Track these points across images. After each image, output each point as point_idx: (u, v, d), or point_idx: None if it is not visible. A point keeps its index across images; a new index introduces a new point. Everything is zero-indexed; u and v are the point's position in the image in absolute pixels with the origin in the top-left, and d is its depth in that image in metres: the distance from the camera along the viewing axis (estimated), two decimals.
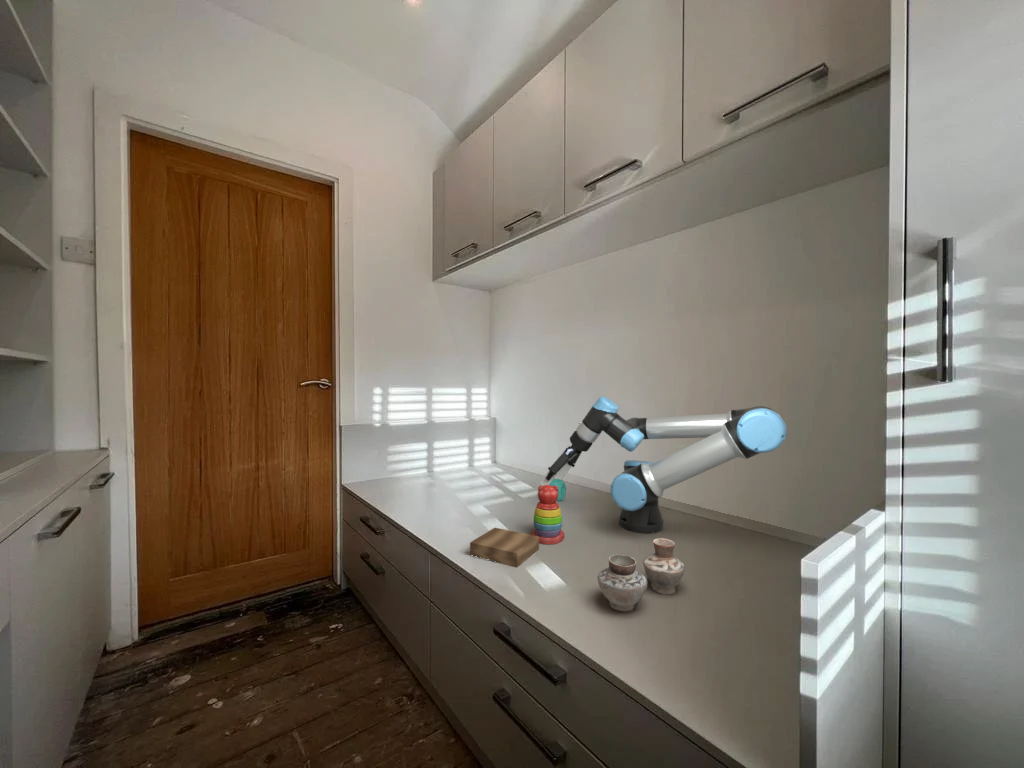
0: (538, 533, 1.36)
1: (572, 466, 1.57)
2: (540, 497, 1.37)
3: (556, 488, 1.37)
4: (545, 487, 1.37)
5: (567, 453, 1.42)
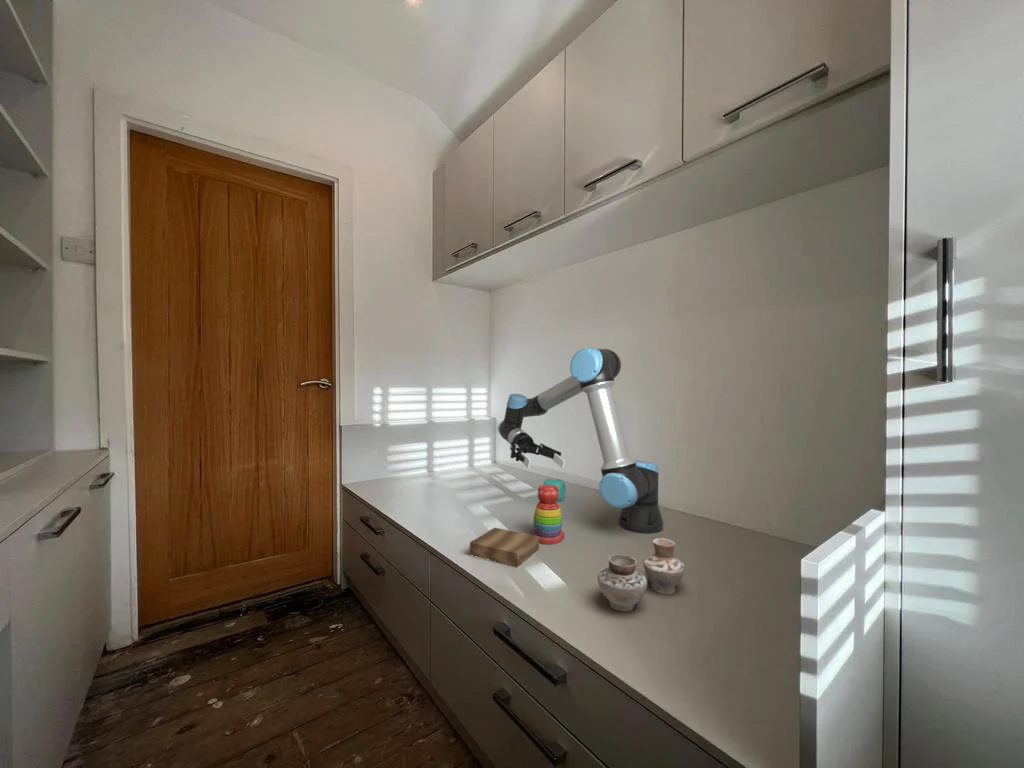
0: (538, 533, 1.36)
1: (556, 452, 1.54)
2: (540, 497, 1.37)
3: (556, 488, 1.37)
4: (545, 487, 1.37)
5: (511, 446, 1.55)
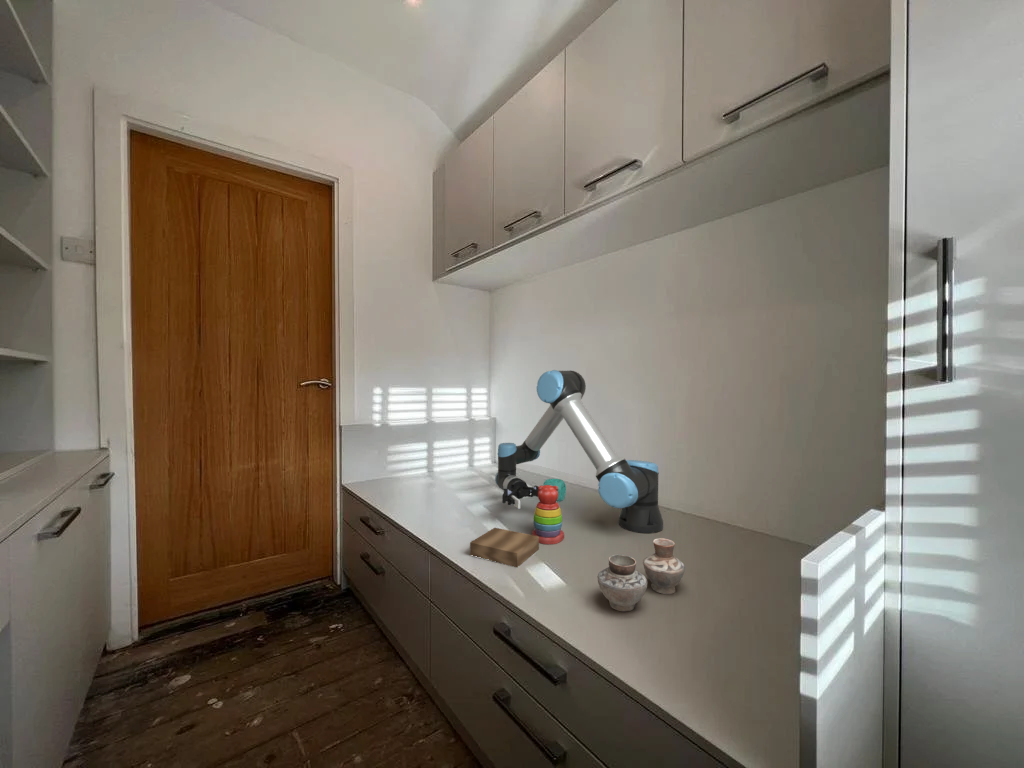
0: (538, 533, 1.36)
1: None
2: (540, 497, 1.37)
3: (556, 488, 1.38)
4: (545, 487, 1.37)
5: None
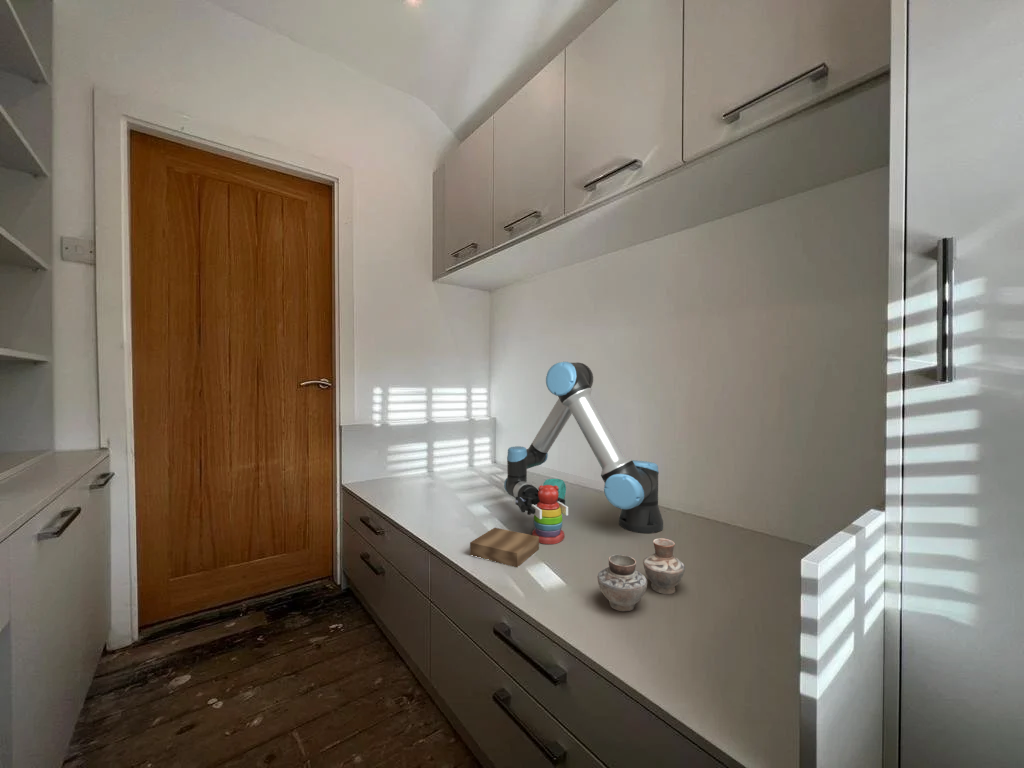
0: (538, 533, 1.36)
1: (558, 500, 1.43)
2: (540, 497, 1.37)
3: (556, 488, 1.38)
4: (545, 487, 1.37)
5: (516, 500, 1.46)
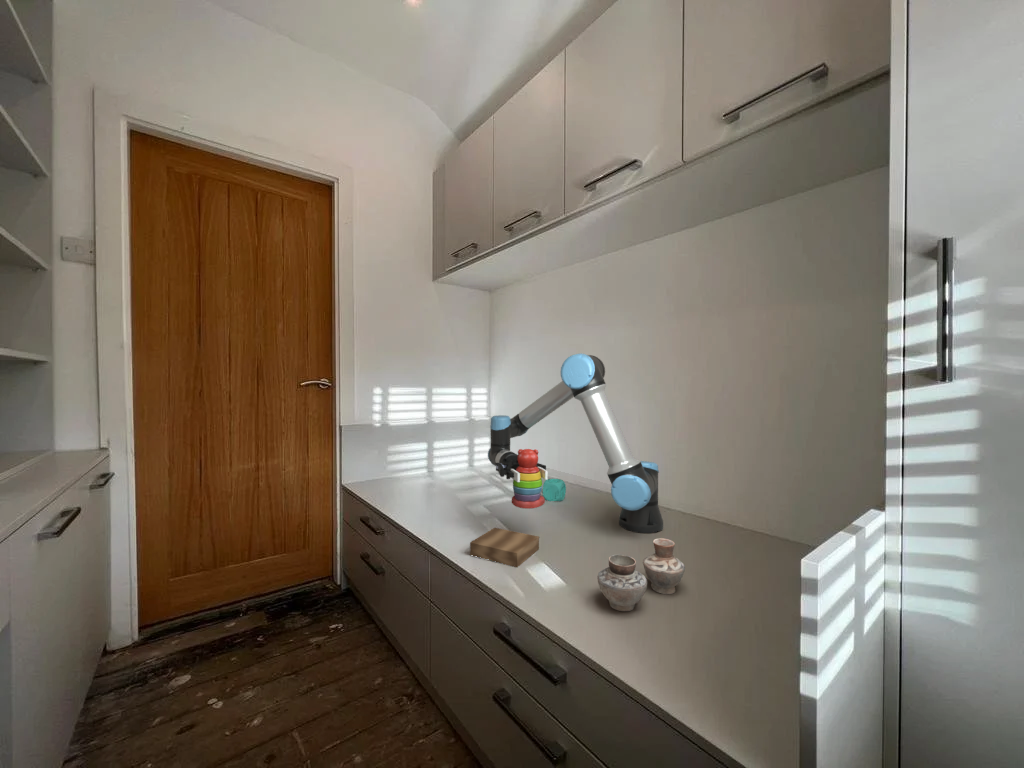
0: (517, 497, 1.33)
1: (539, 465, 1.39)
2: (519, 460, 1.33)
3: (536, 452, 1.34)
4: (525, 450, 1.34)
5: (497, 466, 1.43)
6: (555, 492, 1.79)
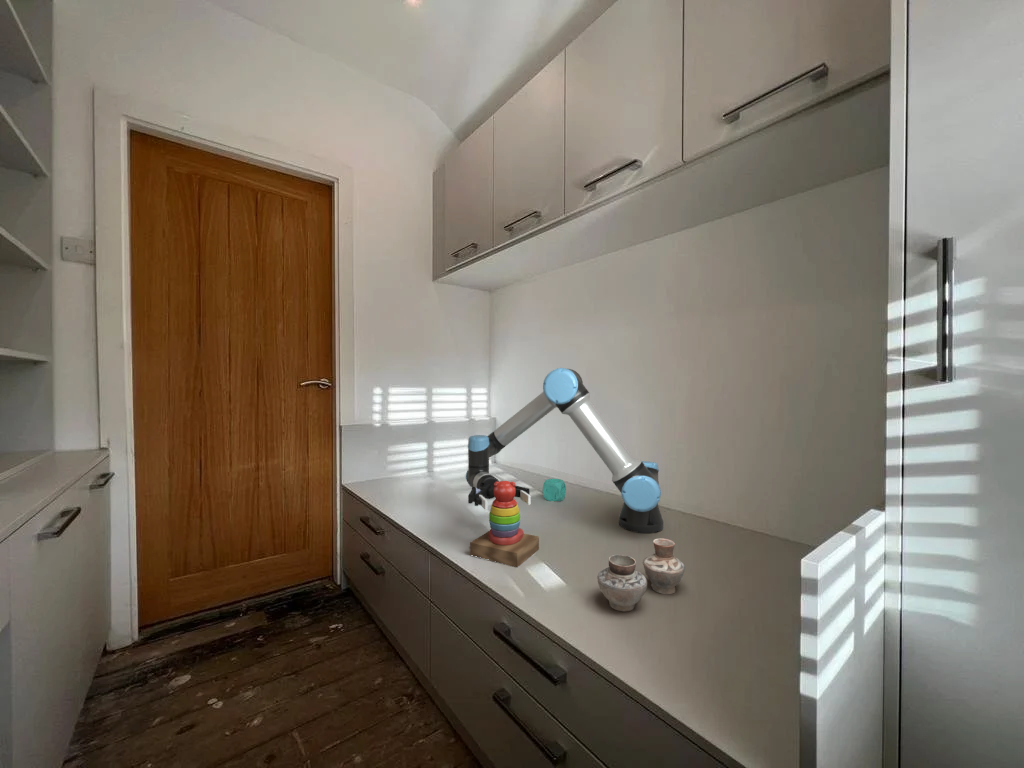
0: (493, 533, 1.25)
1: (522, 489, 1.34)
2: (495, 494, 1.25)
3: (513, 484, 1.26)
4: (501, 483, 1.26)
5: None
6: (555, 492, 1.79)
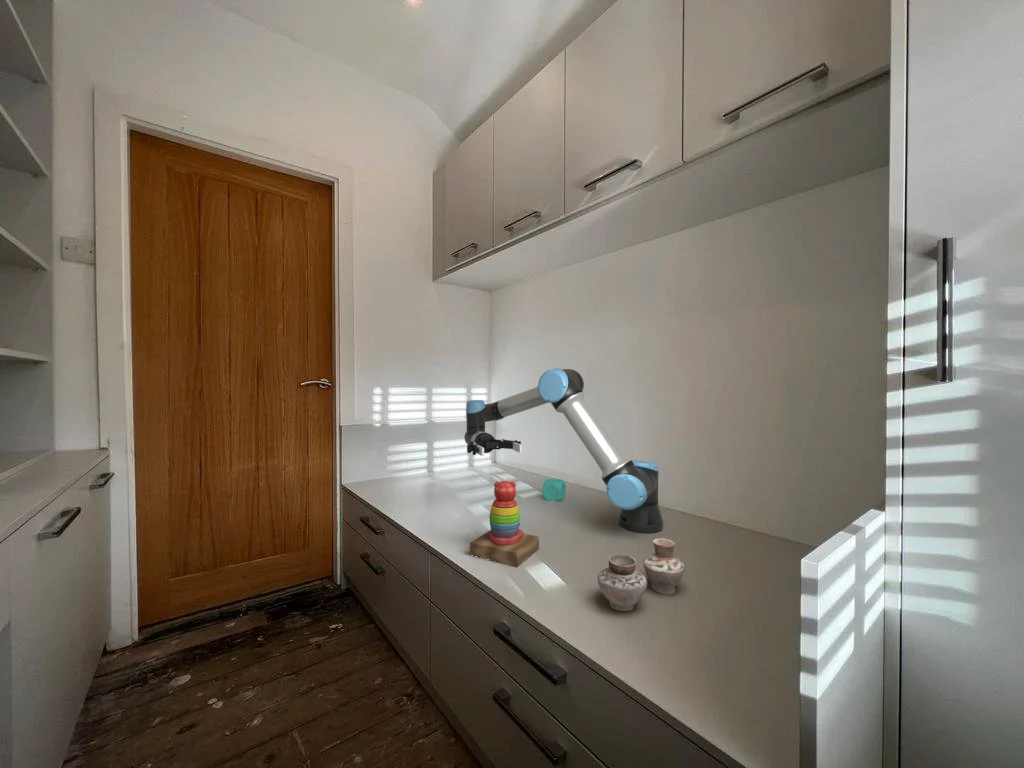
0: (493, 533, 1.26)
1: (514, 441, 1.52)
2: (496, 494, 1.26)
3: (513, 484, 1.27)
4: (501, 483, 1.27)
5: None
6: (555, 492, 1.79)
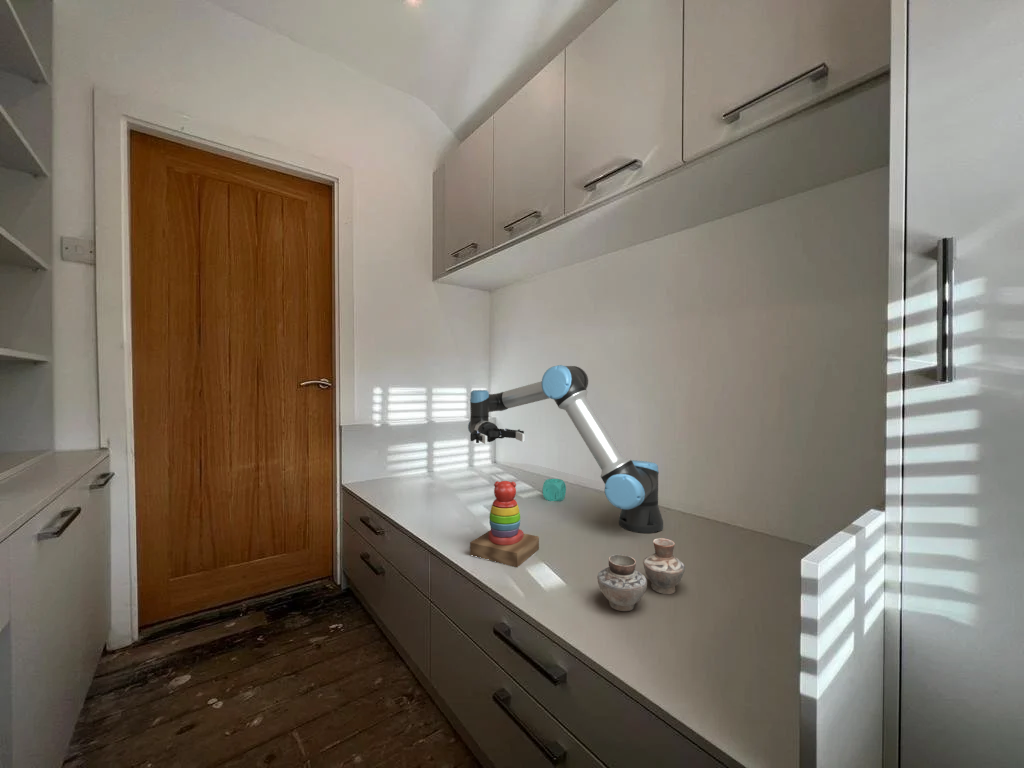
0: (493, 533, 1.26)
1: (517, 430, 1.54)
2: (496, 494, 1.26)
3: (513, 484, 1.27)
4: (501, 483, 1.27)
5: None
6: (555, 492, 1.79)
